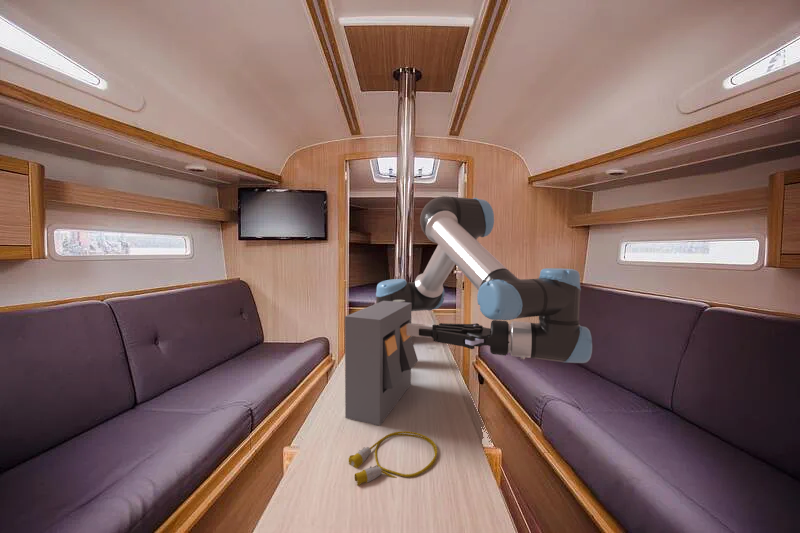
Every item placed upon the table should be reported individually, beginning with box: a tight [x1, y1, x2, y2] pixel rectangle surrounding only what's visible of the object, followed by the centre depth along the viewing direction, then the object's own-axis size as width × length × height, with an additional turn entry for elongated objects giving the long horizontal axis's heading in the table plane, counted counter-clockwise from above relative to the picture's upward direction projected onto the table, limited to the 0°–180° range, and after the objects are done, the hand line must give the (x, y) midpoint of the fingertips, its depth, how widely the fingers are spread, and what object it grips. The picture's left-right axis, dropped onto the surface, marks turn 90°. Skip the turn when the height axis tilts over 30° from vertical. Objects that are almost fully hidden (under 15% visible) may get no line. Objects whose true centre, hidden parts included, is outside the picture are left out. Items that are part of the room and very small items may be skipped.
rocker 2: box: [400, 323, 419, 371], centre depth 76 cm, size 6×2×10 cm, turn 159°
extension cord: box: [348, 430, 438, 487], centre depth 54 cm, size 12×16×2 cm
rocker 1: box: [383, 333, 402, 389], centre depth 67 cm, size 6×2×10 cm, turn 159°
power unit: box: [344, 301, 413, 426], centre depth 73 cm, size 20×8×22 cm, turn 159°
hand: (407, 329), depth 76 cm, fingers closed
